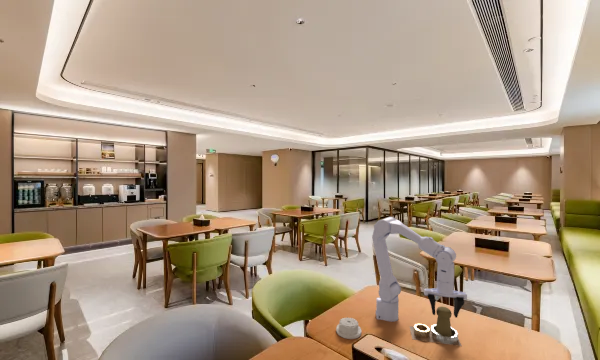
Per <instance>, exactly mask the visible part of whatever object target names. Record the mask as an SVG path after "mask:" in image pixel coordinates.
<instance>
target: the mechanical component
mask: <svg viewBox="0 0 600 360" xmlns="http://www.w3.org/2000/svg"><path fill="white" fill-rule="evenodd" d="M338 322H339V323H338V324H337V325H336V329H335V331H336V334H337V335H338V336H339V337H341V338H344V339H348V340H354V339H358V338H360V337H361V335H362V327H361V326H359V322H358V320H357V319H355V318H353V317H348V316H347V317H343V318H340V319H339V321H338Z"/></svg>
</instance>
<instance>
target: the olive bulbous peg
mask: <svg viewBox="0 0 600 360" xmlns="http://www.w3.org/2000/svg"><path fill="white" fill-rule="evenodd" d="M435 314H436V315H437V320H436V323H435V324H436V330H435V332H436V333H438V334H440V335H443V336H449V337H450V336H452V332H451V327H452V326H451V325H452V324H451V317H452V314H453V313H452V311H451V309H450V308H449V307H446V306H438V307H437V308H436V309H435Z"/></svg>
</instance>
